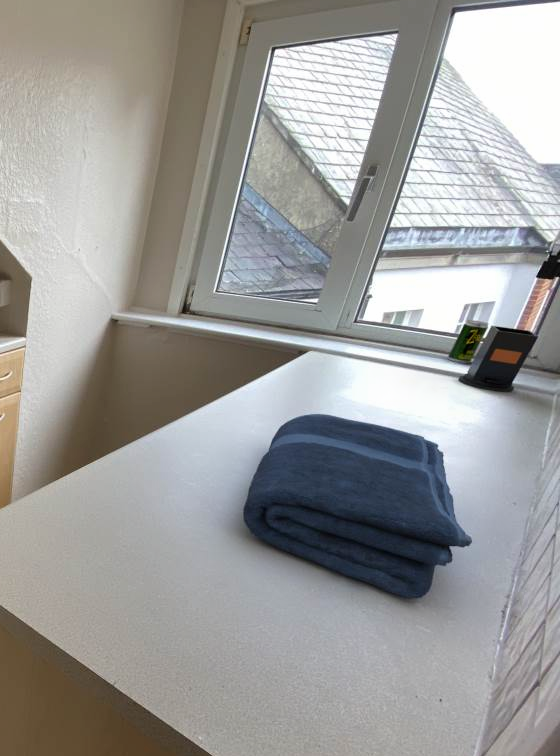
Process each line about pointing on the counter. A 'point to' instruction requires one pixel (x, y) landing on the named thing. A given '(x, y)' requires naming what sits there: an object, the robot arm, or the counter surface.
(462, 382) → the turntable
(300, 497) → the towel
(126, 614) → the counter surface
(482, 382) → the waste bin
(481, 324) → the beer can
